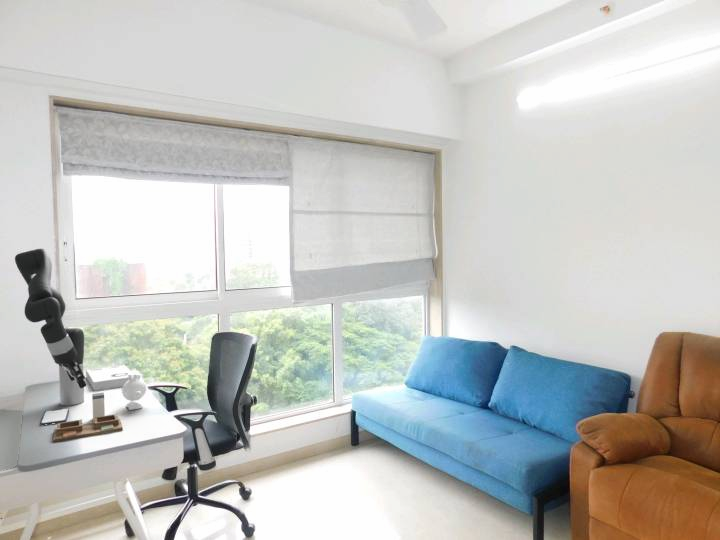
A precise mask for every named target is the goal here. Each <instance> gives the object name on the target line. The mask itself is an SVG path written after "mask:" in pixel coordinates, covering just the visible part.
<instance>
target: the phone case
mask: <svg viewBox="0 0 720 540" xmlns="http://www.w3.org/2000/svg"><path fill="white" fill-rule="evenodd" d="M69 414H70V409H69V408H61V409H59V408H58V409H53V410H47V411H44V413H43V415H42V418H41V421H40V423H39V424H41V425H45V424H52V423H62V422H68V418H69ZM41 425H40V426H41ZM52 425H53V424H52ZM45 426H46V425H45Z"/></svg>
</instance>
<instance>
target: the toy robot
mask: <svg viewBox="0 0 720 540" xmlns="http://www.w3.org/2000/svg"><path fill="white" fill-rule="evenodd" d="M141 376H142V375H141V374H140V373H133V374H132V376H131V374H128V377H129V379H130V380H128V381H127V382H126V383H125V384H124V385H123V387H121V390H120V391H121V393H122V396H123V398H125V400H126V401H127V400H128V401H129V402H128V403H126V405H125V408H128V411H133V410H138V409H142V408H143V407H144V406H143V405H142V404H141V403H140V402H139V400H140V399H142V398H143V397H144V396H145V395H146V391H147V384H146V382H145V381H143V380H142V379H141Z"/></svg>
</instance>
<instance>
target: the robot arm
mask: <svg viewBox="0 0 720 540" xmlns="http://www.w3.org/2000/svg"><path fill="white" fill-rule="evenodd" d="M14 261H15V265H16V267H17V269H18V272H19V273H20V274H21V276H22V278H23V280H24V282H25V283H26V285H27V289H28V290H27V291H28V298H27V301H26V304H25V305H24V317H25V318H26V319H27V320H28V321H29V322H30V323H39V322H43V321H44V322H45V324H44V325H42V326H41V328H40V333H41V335H42V337H43V339H44V341H45V343H46V346H47V349H48V351H49V353H50V355H51V357H52V359H53V361H54V363H55V364H56V365H58V374H59V375H58V376H59V404H60V406H67V407H68V406H75V405H79V404H82V403H84V401H85V389H84V388H85V387H87V383H86V380H85V378H86V377H85V376H86V375H84V355H85V334H84V331H83V330H82V329H81V328H79V327H77V328H76V327H75V328H69V327H68V328H67V327H66V328H65V326H64V324H63V320H62V319H63V316H64V314H65V311H66V303H65V300H64V298H63V296H62V293H61V292H60V291H59V290H58V289H56V288H54V287H53V286H51V279H52V270H53V269H52V267H53V266H52V265H53V264H52V261H51V257H50V255H49V253H48V251H47V250H46V249H45V248H36V249H32V250H28V251H25V252H20V253H17V254H15V257H14Z"/></svg>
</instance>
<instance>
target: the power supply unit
mask: <svg viewBox="0 0 720 540" xmlns="http://www.w3.org/2000/svg"><path fill="white" fill-rule="evenodd" d="M85 374H86V375H85V376H86V377H85V378H86V379H87V381H88V383H89V384H91V385H90V386H91V388H92V390H93V392H96V390H98V391H104V390H103V389H105V390H111V388H112V389H116V388H117V389H118V388H123V385H124V384H125V383H126V382H127V381H128V380H130V379H129V377H128V374H131V376H132V374H134V372H133V371H131V370H130V369H129V367H127V365H126V364H123V365H118V366H110V367H103V368H102V367H101V368H95V369H94V368H93V369H85ZM124 374H125V375H124Z"/></svg>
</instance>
